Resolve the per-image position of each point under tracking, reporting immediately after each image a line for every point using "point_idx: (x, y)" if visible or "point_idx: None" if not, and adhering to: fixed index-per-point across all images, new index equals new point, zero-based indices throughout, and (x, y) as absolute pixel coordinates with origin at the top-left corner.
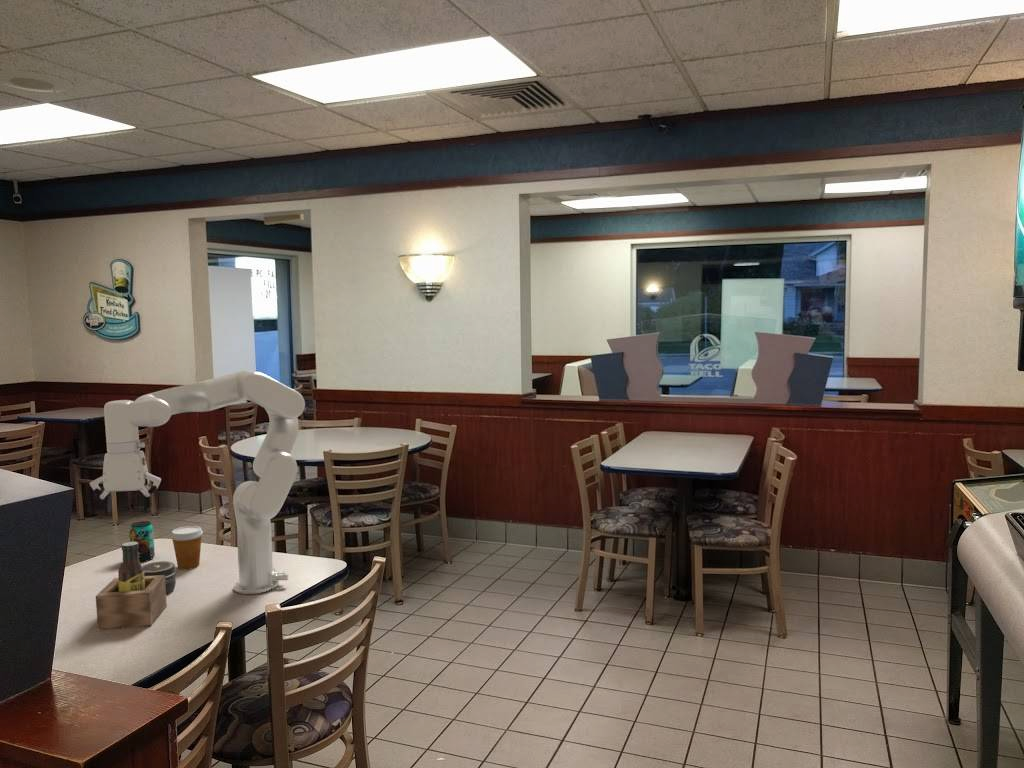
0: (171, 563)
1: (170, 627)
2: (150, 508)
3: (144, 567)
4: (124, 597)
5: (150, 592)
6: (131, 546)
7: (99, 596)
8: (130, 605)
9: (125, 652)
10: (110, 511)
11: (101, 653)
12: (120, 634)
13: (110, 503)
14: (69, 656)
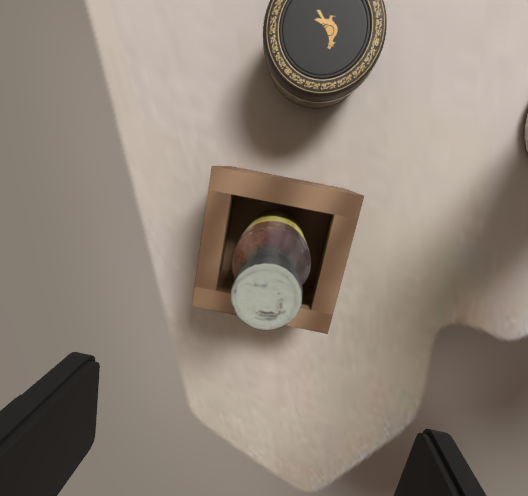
0: (377, 9)
1: (357, 317)
2: (445, 435)
3: (284, 26)
4: None
5: (329, 324)
6: (276, 327)
7: (201, 306)
8: None
9: (283, 396)
10: (97, 394)
11: (242, 385)
12: None
13: (43, 441)
14: (191, 376)
